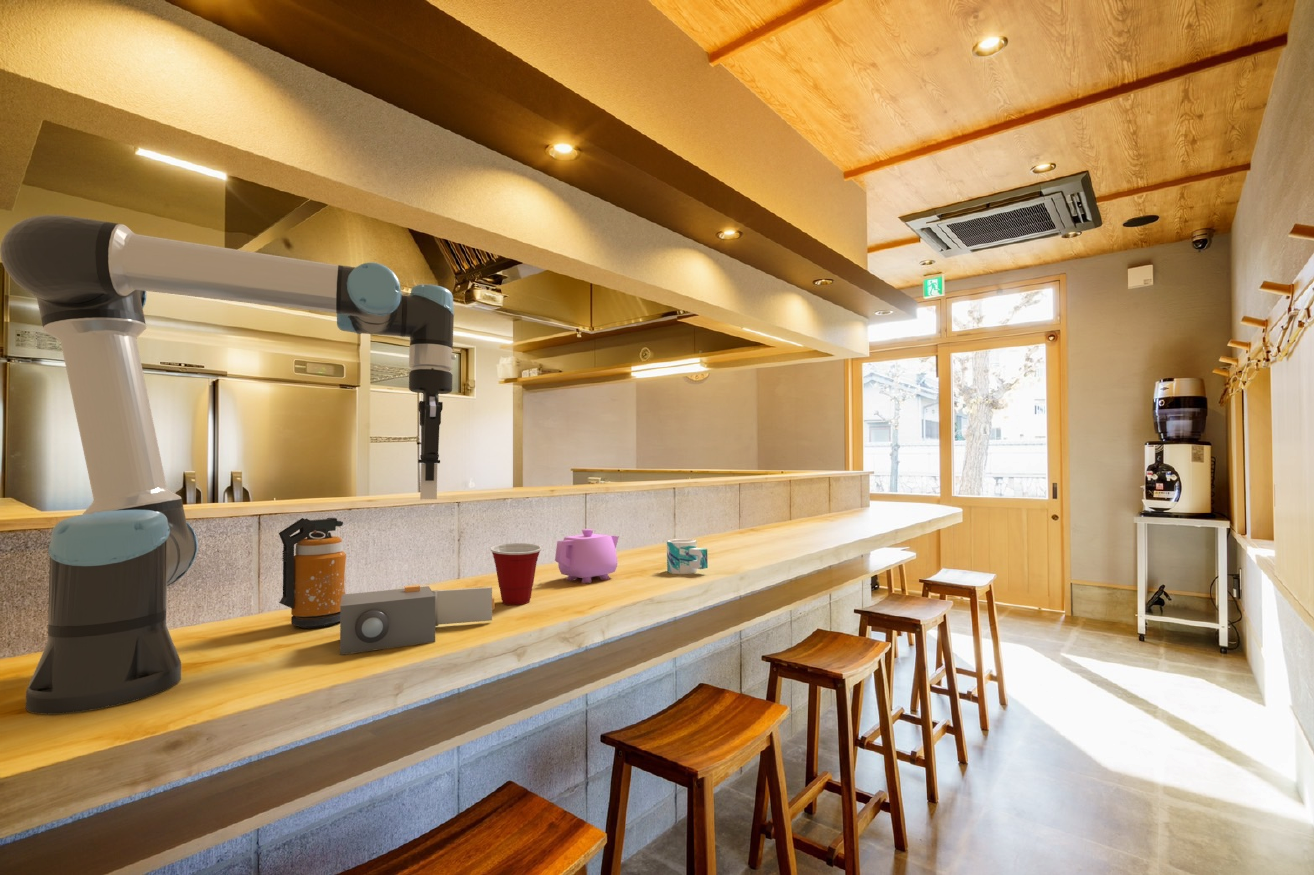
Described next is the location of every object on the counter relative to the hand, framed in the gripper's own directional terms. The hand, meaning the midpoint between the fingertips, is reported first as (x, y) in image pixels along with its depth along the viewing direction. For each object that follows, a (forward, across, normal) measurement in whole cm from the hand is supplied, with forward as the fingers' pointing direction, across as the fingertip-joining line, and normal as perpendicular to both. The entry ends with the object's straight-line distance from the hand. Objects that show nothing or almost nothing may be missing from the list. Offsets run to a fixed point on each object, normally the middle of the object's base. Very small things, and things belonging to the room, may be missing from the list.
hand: (428, 499), depth 111 cm
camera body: (+23, -5, +6) cm, 25 cm away
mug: (+22, +28, -68) cm, 76 cm away
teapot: (+23, +32, -41) cm, 57 cm away
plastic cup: (+23, +13, -19) cm, 33 cm away
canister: (+24, +13, +19) cm, 33 cm away
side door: (+23, -1, -6) cm, 24 cm away
